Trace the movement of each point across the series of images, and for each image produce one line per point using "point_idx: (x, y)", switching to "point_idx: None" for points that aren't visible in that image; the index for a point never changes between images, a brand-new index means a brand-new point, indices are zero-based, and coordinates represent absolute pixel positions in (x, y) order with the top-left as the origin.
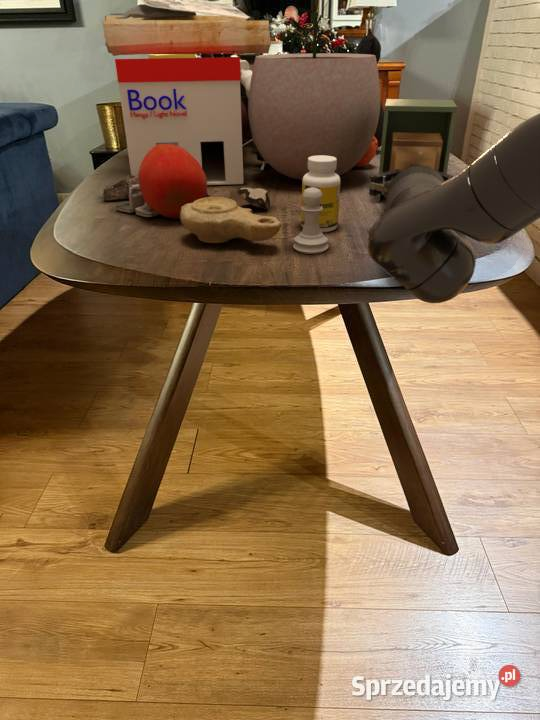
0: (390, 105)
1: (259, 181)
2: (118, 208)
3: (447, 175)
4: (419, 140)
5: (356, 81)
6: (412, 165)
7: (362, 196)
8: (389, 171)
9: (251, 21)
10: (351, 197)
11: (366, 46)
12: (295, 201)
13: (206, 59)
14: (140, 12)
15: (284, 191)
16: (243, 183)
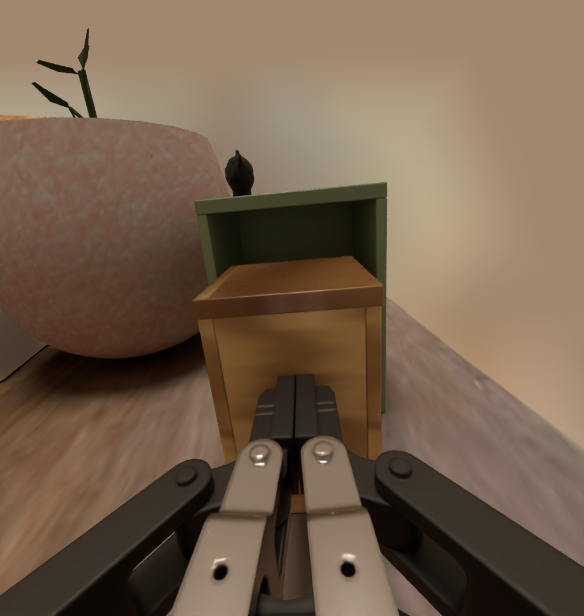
0: (208, 199)
1: (51, 364)
2: None
3: (515, 549)
4: (293, 290)
5: (150, 168)
6: (283, 386)
7: (211, 395)
8: (130, 506)
9: (9, 116)
10: (185, 404)
11: (233, 166)
12: (32, 448)
13: None
14: None
15: (58, 397)
16: (2, 379)
